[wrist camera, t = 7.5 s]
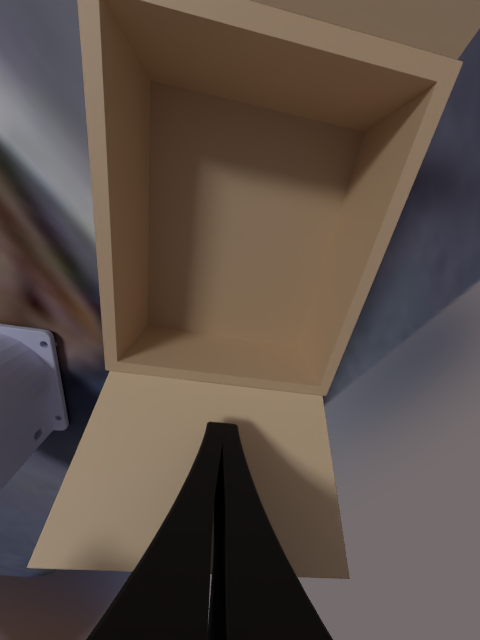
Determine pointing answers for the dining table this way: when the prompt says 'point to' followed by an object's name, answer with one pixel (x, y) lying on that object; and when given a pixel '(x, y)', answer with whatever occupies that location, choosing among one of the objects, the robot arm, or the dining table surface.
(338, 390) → the dining table surface
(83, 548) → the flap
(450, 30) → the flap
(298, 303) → the carton
